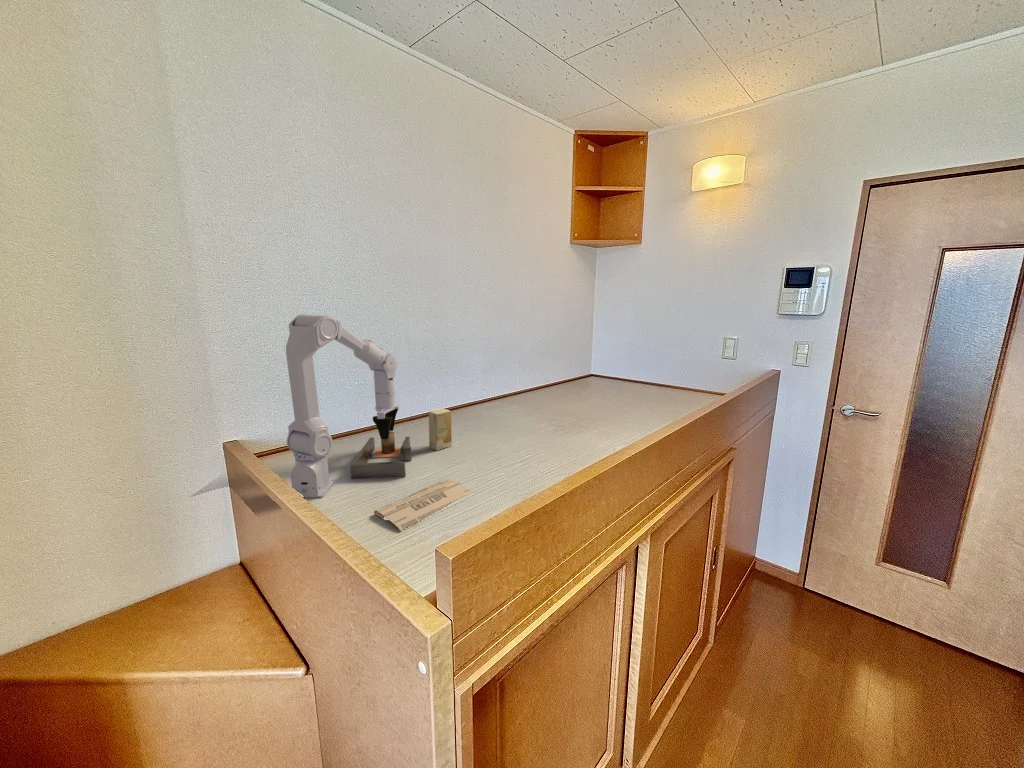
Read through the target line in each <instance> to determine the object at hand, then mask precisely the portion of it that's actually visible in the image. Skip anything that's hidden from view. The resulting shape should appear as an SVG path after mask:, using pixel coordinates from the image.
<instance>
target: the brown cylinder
mask: <svg viewBox="0 0 1024 768" xmlns="http://www.w3.org/2000/svg"><path fill="white" fill-rule="evenodd" d="M380 441H381V442H380V444H381V447H382V453H383V454H392V453H394V452H395V447H396V444H395V443H396V442H395V432H394V431H389V438H388V439H381V438H380Z"/></svg>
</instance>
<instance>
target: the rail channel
mask: <svg viewBox="0 0 1024 768" xmlns="http://www.w3.org/2000/svg"><path fill="white" fill-rule="evenodd" d="M375 444H376V443H375V437H369V438H368V440H367V441H366V443H365V444H364V446H363V447H362V448H361V449H360V451H359V452H358V453H357V455H356V457H355V458H354V459H353V461H352V462H351V463H350V478H351V480H357V479H358V480H359V479H361V480H363V479H364V480H365V479H387V478H388V479H391V478H406V475H407V473H406V462H411V461H412V446H411V436H406V437H405V438H404V440H403V442H402V445H401V446H400V447H401V448H400V453H401V455H400V461H385V462H384V461H383V462H368V461H369V460H370V458H371V456H372V455H373V453H374V452H375V451H376V446H375Z"/></svg>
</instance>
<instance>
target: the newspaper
mask: <svg viewBox="0 0 1024 768" xmlns="http://www.w3.org/2000/svg"><path fill="white" fill-rule="evenodd" d="M472 491H473V490H471V489H470V488H468V487H466V486H465V485H463V484H462V483H460V482H458V481H456V480H453V479H452V478H451V479H449V478H448V479H447V480H443V479H442V480H439V481H437V482H435V483H433V484H430V485H429V486H426V487H424V488H422V489H421V490H418V491H416V492H413V493H411V494H409V495H406V497H404V498H401V499H399V500H396V501H394V502H392V503H389V504H387V505H385V506H383V507H381V508H378V509H375V510H374V511H373V514H374V515H375V516H376V517H379V518H380V517H381V518H380V519H382V518H384V517H386V518H387V519H389V520H388V521H390V523H392V524H393V525H394V526H395V527H397V529H399V532H400V531H402V530H404V529H405V528H408V527H409V526H412V525H414V524H416V523H418V522H419V521H421V520H423V519H424V518H426V517H428V516H429V515H432V514H434V513H435V512H437V511H439V510H441V509H443V508H444V507H447V506H448V505H449V504H451V503H452V502H454V501H455V500H458V498H461V497H463V496H465V494H468V493H470V492H472ZM416 525H417V524H416ZM414 526H415V525H414ZM412 527H413V526H412ZM408 529H409V528H408ZM404 531H405V530H404ZM402 532H403V531H402Z"/></svg>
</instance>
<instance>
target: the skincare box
mask: <svg viewBox="0 0 1024 768" xmlns="http://www.w3.org/2000/svg"><path fill="white" fill-rule="evenodd" d="M428 439H429V440H428V441H429V442H428V443H429V444H428V445H429V447H428V448H430V449H433V450H435V451H440V449H441V450H443V448H444V449H446V447H447V448H449V446H450V447H452V446H451V445H453V444H452V442H453V441H452V411H451V410H449V409H446V408H441V409H436V410H432V411H431V410H430V411H428Z"/></svg>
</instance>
